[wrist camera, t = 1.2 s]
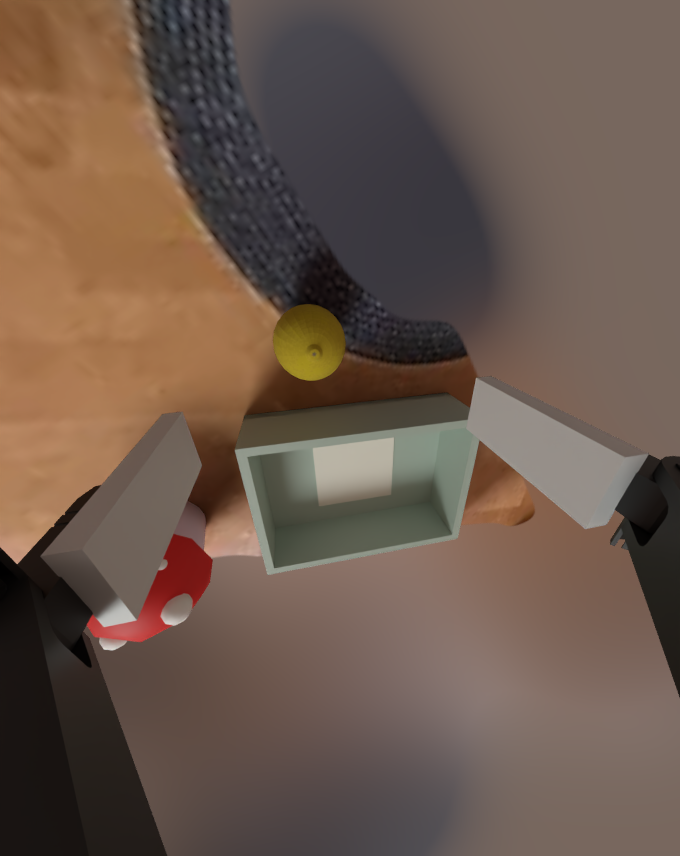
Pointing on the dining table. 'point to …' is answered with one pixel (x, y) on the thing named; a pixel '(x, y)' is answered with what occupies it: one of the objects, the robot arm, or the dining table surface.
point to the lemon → (309, 342)
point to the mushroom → (167, 585)
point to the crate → (356, 478)
